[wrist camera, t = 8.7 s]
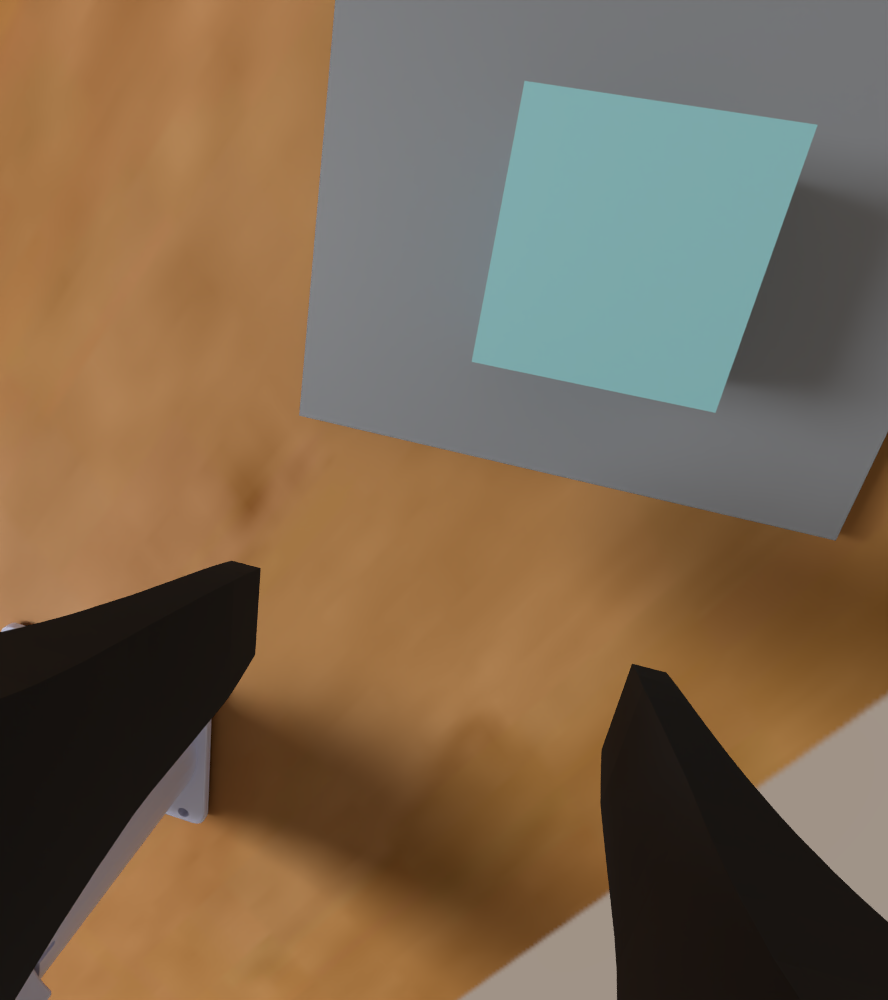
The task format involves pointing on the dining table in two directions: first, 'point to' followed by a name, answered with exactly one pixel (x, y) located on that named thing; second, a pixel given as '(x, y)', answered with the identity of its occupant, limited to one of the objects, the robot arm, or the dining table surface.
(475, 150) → the pin board
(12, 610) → the dining table surface
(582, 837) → the dining table surface
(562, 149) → the teal cube
